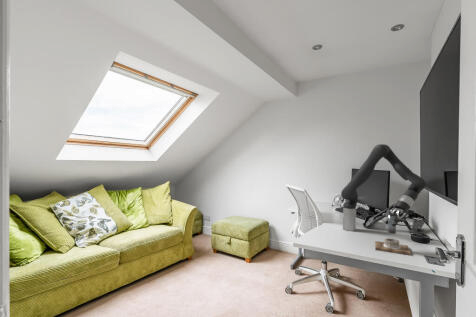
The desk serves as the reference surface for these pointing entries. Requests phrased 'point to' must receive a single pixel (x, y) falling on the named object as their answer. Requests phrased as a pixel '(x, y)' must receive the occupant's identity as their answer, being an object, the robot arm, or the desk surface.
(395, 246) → the cup bracket
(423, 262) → the desk surface
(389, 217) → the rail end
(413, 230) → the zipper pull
